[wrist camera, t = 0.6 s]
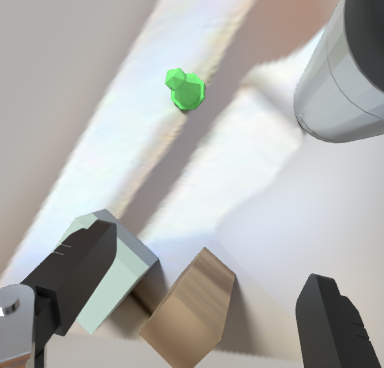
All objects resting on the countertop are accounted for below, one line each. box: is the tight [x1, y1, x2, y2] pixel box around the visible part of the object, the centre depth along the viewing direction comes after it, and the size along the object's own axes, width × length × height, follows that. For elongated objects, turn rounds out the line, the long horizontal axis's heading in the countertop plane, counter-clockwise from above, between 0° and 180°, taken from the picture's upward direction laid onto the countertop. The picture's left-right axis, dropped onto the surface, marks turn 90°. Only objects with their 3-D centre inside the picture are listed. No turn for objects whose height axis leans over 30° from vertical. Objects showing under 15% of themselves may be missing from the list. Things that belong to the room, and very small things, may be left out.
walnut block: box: [139, 247, 236, 368], centre depth 26 cm, size 5×5×12 cm
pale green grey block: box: [52, 209, 159, 335], centre depth 33 cm, size 10×10×6 cm
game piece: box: [165, 68, 205, 110], centre depth 28 cm, size 4×4×6 cm
